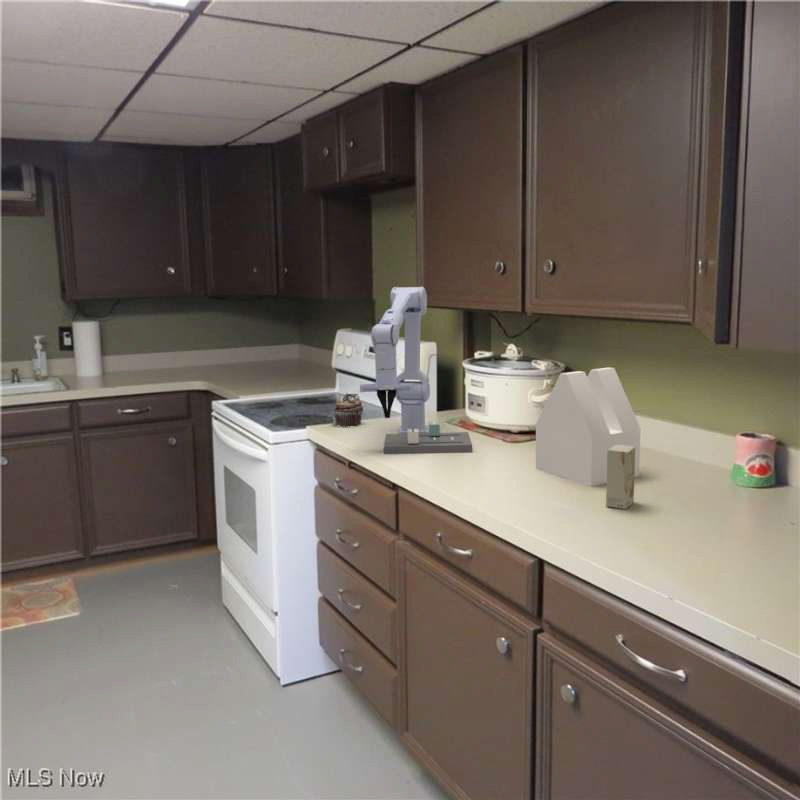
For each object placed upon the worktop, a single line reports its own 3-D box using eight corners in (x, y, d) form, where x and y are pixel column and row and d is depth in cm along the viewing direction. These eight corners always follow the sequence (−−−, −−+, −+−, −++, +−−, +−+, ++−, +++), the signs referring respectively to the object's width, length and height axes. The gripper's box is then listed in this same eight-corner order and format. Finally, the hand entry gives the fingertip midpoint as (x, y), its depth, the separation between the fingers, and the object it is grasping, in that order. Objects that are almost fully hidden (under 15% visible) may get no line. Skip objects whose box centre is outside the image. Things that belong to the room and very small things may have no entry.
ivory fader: (407, 440, 215) (407, 428, 215) (418, 440, 215) (418, 428, 215) (407, 443, 211) (407, 431, 211) (418, 443, 211) (418, 431, 211)
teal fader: (429, 432, 224) (428, 421, 223) (439, 432, 224) (439, 421, 223) (429, 435, 220) (429, 424, 219) (439, 435, 220) (439, 424, 219)
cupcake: (338, 421, 256) (337, 391, 254) (366, 421, 254) (365, 391, 252) (330, 427, 246) (328, 396, 245) (359, 428, 244) (358, 396, 243)
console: (386, 440, 226) (385, 433, 226) (468, 438, 226) (468, 431, 225) (384, 454, 210) (383, 446, 210) (472, 452, 210) (472, 444, 210)
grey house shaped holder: (535, 468, 192) (536, 369, 188) (581, 459, 200) (583, 363, 195) (591, 487, 176) (593, 378, 171) (639, 476, 183) (642, 372, 179)
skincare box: (626, 510, 159) (627, 452, 157) (605, 507, 161) (606, 450, 159) (634, 501, 164) (636, 445, 162) (614, 498, 167) (615, 443, 164)
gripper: (358, 370, 206) (360, 420, 208) (412, 369, 206) (413, 419, 208) (360, 367, 213) (361, 415, 215) (412, 366, 213) (413, 414, 215)
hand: (387, 417), depth 212 cm, fingers closed
